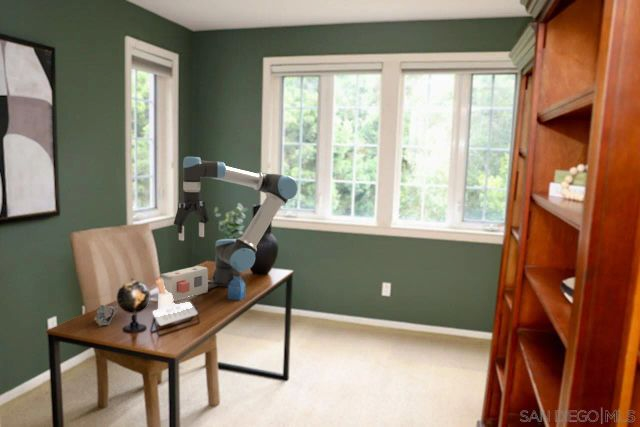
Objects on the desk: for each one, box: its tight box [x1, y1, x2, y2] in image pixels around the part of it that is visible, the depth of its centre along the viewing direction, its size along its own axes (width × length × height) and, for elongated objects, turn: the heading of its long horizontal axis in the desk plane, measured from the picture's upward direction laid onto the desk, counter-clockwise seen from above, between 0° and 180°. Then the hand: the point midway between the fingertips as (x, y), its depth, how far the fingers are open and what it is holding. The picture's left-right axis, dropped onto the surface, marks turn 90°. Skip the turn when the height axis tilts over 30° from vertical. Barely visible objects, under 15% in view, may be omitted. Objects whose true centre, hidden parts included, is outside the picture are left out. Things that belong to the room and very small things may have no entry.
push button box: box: [159, 265, 217, 303], centre depth 221 cm, size 30×7×12 cm, turn 145°
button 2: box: [177, 281, 190, 293], centre depth 211 cm, size 4×6×4 cm
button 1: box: [194, 276, 202, 287], centre depth 221 cm, size 4×6×4 cm
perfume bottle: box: [227, 271, 247, 301], centre depth 218 cm, size 6×6×12 cm
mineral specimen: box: [94, 304, 119, 327], centre depth 183 cm, size 10×8×10 cm
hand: (191, 238), depth 213 cm, fingers open, 11 cm apart
